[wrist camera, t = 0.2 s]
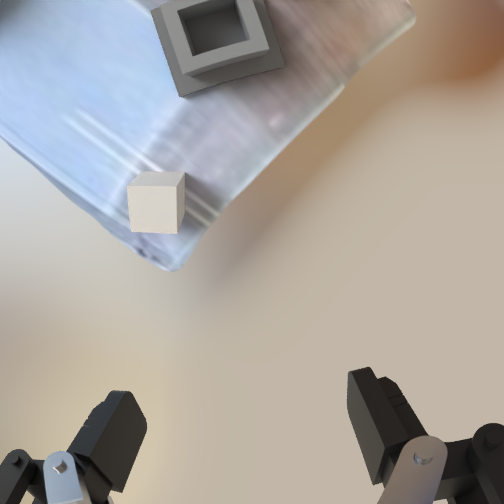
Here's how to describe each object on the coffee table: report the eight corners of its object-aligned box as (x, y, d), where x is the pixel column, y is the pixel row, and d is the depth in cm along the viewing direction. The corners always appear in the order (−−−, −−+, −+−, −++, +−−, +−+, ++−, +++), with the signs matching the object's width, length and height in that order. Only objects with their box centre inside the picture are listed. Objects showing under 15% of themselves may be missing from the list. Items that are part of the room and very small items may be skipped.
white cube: (141, 171, 34) (126, 185, 29) (185, 171, 35) (176, 186, 30) (144, 212, 38) (131, 232, 32) (185, 213, 38) (177, 234, 33)
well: (180, 97, 30) (170, 97, 24) (152, 12, 23) (137, 0, 18) (284, 67, 28) (293, 62, 23) (254, -18, 21) (258, -36, 16)
